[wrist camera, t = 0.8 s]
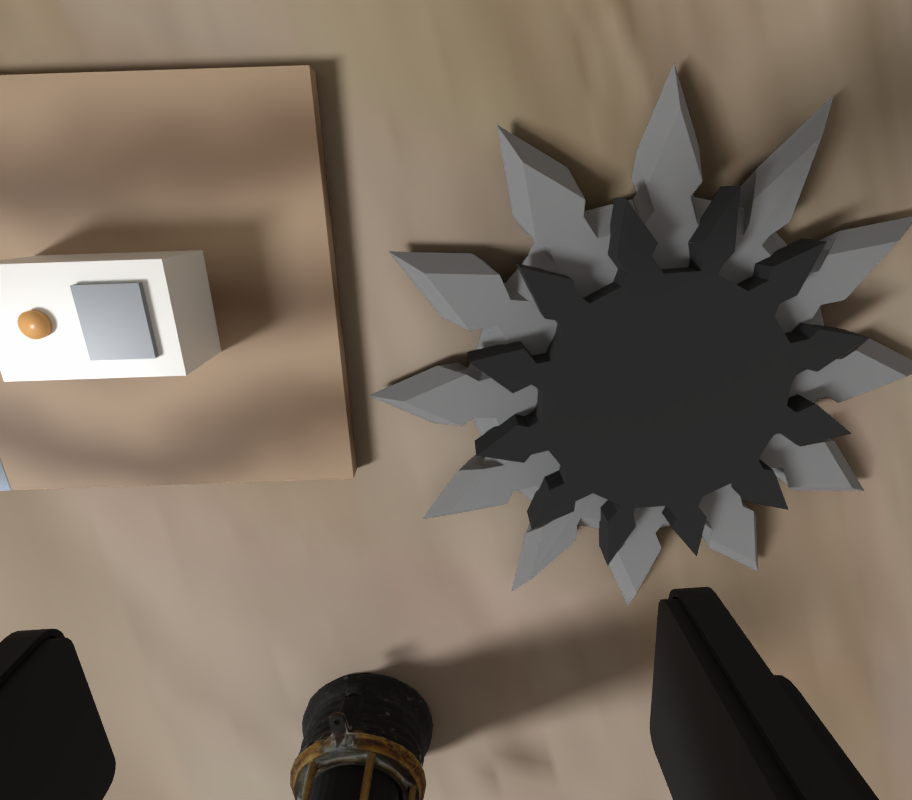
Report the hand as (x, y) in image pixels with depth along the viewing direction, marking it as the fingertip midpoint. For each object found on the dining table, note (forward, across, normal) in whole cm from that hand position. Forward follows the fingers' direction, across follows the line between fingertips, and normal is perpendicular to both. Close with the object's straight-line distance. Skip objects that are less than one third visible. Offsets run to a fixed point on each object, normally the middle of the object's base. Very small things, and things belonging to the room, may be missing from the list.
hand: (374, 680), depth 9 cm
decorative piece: (+22, -12, +2) cm, 25 cm away
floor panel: (+22, +19, -4) cm, 29 cm away
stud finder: (+20, +14, -4) cm, 25 cm away
